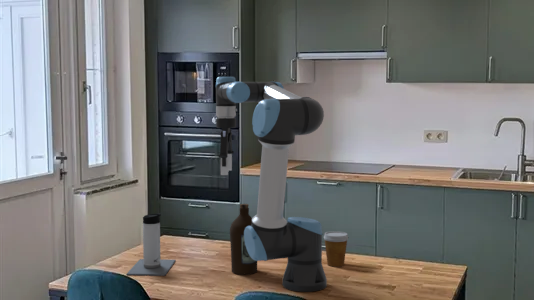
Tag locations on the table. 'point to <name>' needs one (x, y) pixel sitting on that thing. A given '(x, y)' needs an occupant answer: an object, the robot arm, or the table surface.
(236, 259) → the olive oil
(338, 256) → the disposable coffee cup
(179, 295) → the table surface
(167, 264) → the rubber mat
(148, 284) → the table surface
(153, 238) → the travel mug
